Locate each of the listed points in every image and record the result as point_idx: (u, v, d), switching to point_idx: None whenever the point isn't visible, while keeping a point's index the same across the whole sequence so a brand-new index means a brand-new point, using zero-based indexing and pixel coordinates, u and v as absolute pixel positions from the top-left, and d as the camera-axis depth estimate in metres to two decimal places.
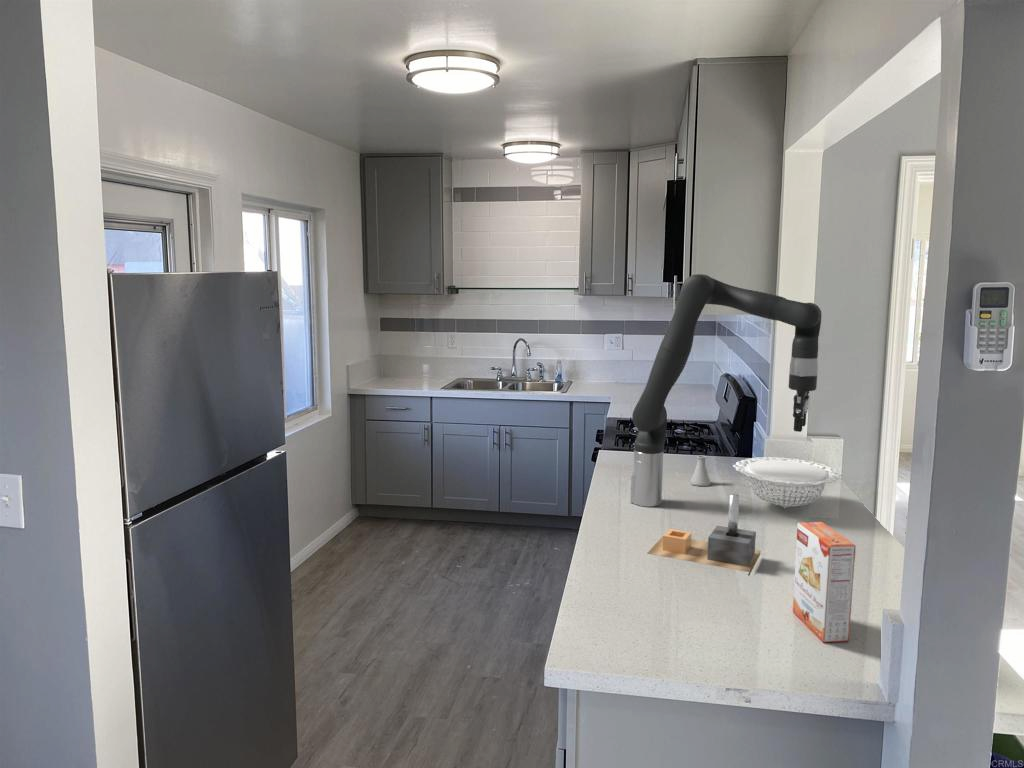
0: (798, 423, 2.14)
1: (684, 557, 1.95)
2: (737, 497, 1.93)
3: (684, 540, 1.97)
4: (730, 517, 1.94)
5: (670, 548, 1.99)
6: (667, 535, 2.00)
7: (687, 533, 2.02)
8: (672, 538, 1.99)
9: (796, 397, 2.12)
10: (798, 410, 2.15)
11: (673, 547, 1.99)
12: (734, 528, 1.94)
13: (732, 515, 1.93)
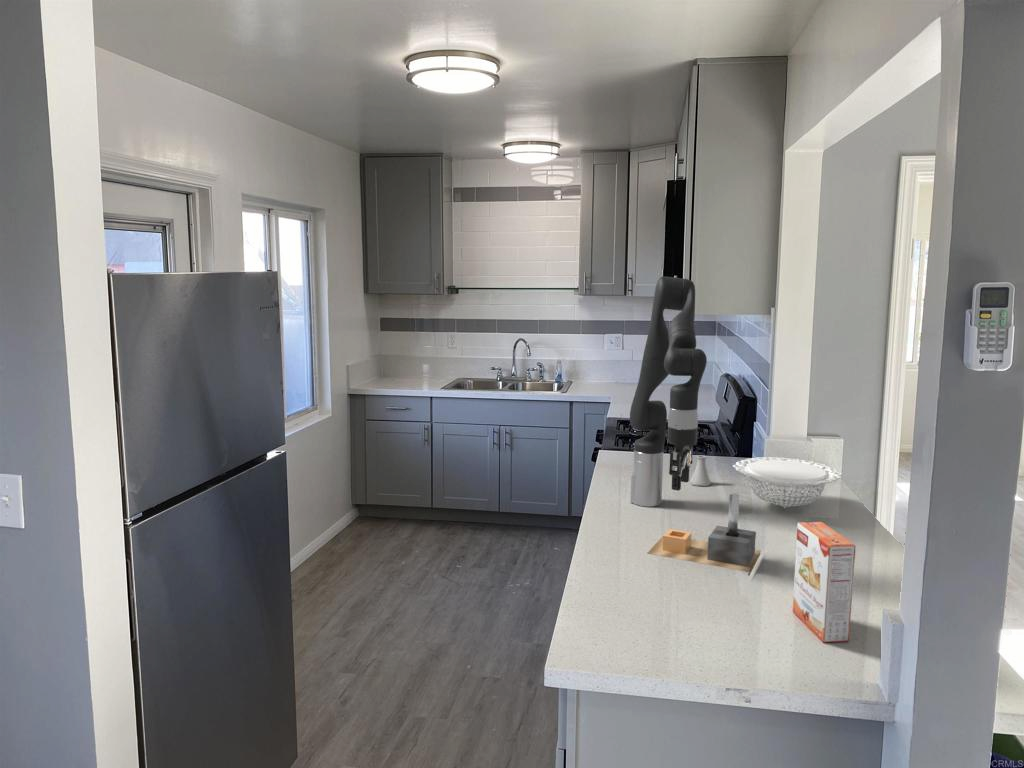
0: (676, 481, 1.94)
1: (684, 557, 1.95)
2: (737, 497, 1.93)
3: (684, 540, 1.97)
4: (730, 517, 1.94)
5: (670, 548, 1.99)
6: (667, 535, 2.00)
7: (687, 533, 2.02)
8: (672, 538, 1.99)
9: (672, 453, 1.92)
10: (676, 466, 1.95)
11: (673, 547, 1.99)
12: (734, 528, 1.94)
13: (732, 515, 1.93)
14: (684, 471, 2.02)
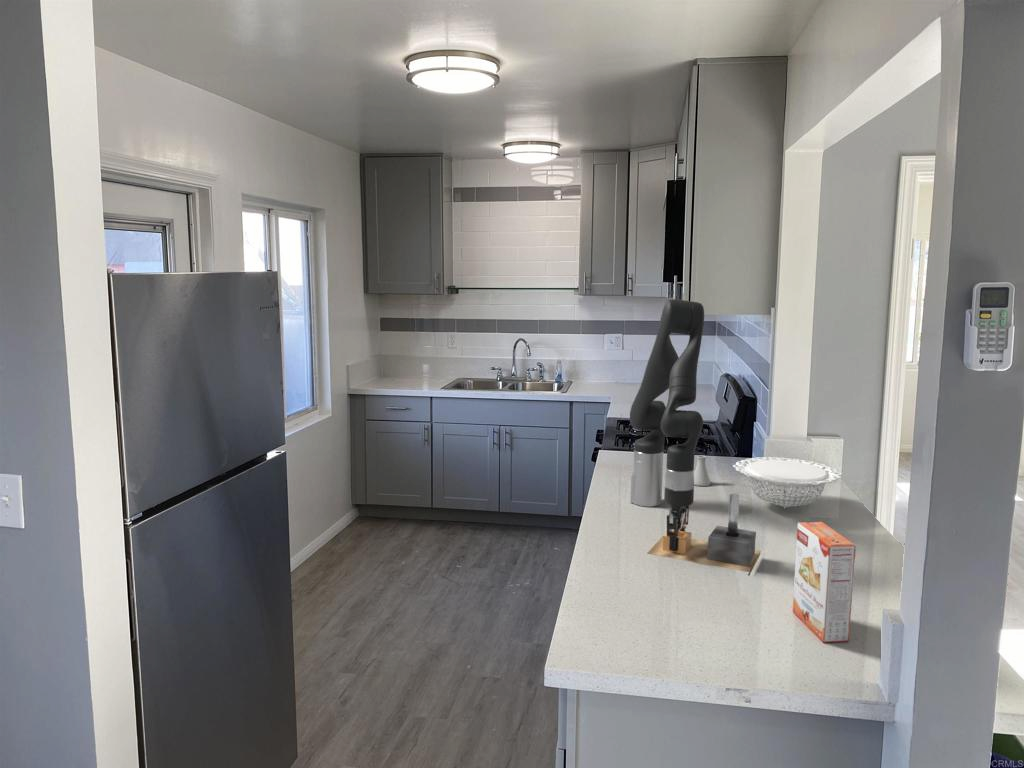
0: (673, 542, 1.97)
1: (684, 557, 1.95)
2: (737, 497, 1.93)
3: (684, 540, 1.97)
4: (730, 517, 1.94)
5: None
6: None
7: (687, 533, 2.02)
8: None
9: (668, 517, 1.94)
10: None
11: None
12: (734, 528, 1.94)
13: (732, 515, 1.93)
14: None
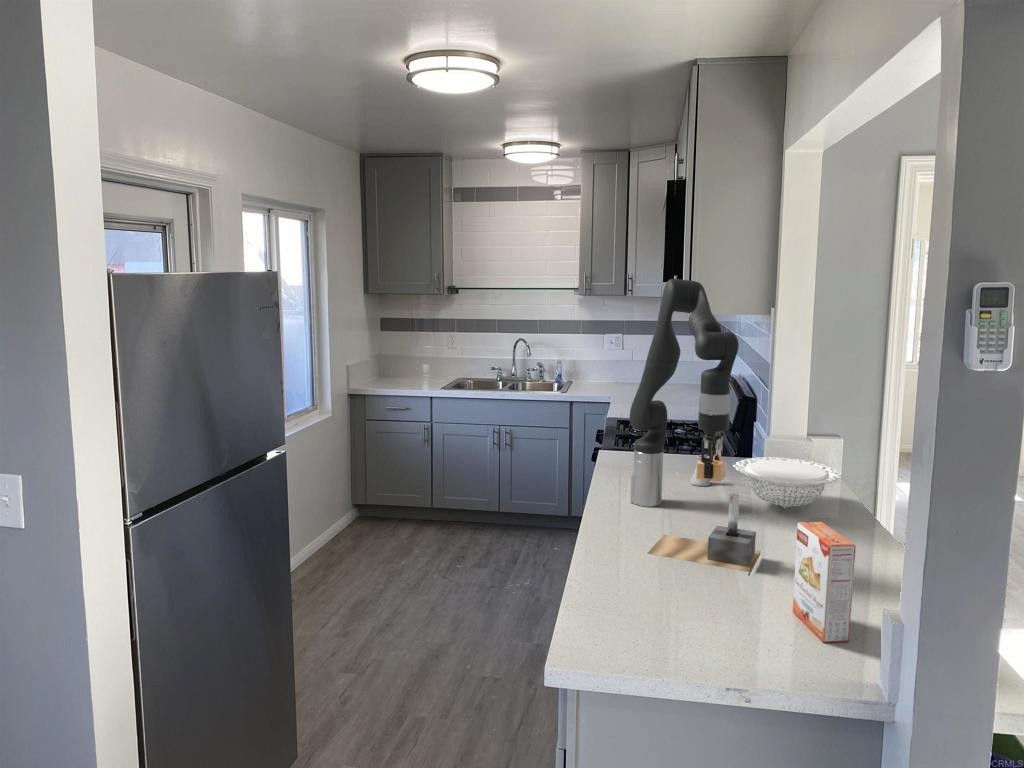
0: (708, 469, 1.91)
1: (684, 557, 1.95)
2: (737, 497, 1.93)
3: (719, 467, 1.90)
4: (730, 517, 1.94)
5: None
6: (701, 463, 1.93)
7: (722, 461, 1.95)
8: None
9: (703, 442, 1.88)
10: None
11: None
12: (734, 528, 1.94)
13: (732, 515, 1.93)
14: None
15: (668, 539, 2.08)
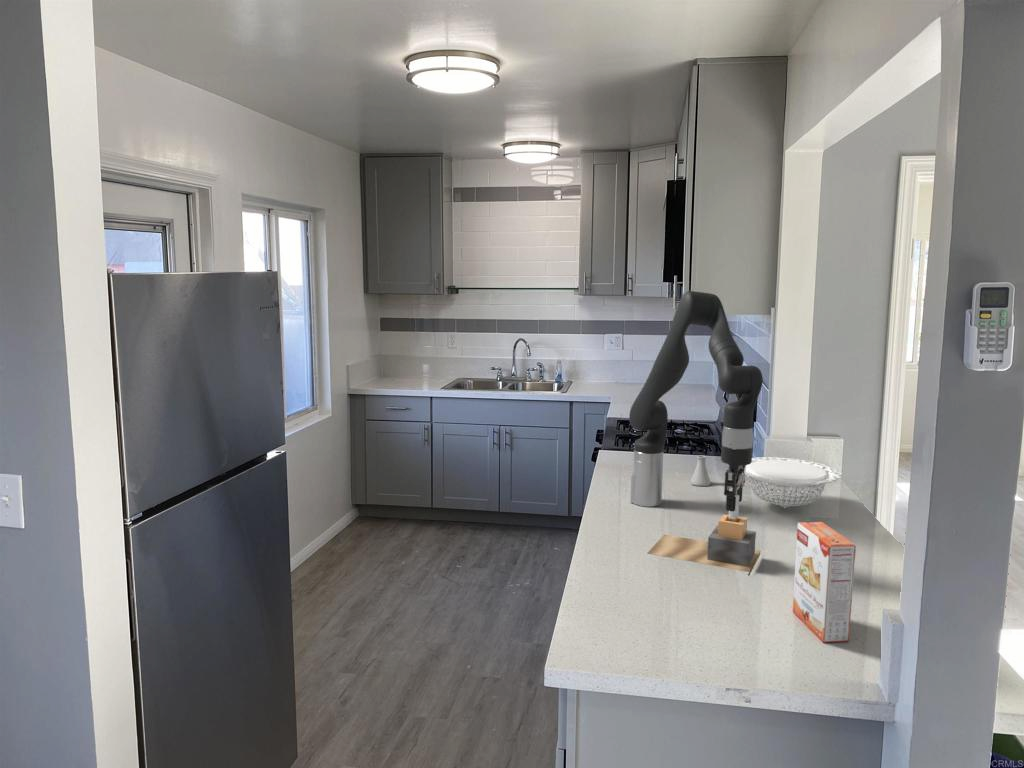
0: (730, 502, 1.89)
1: (684, 557, 1.95)
2: (737, 497, 1.93)
3: (741, 525, 1.91)
4: (730, 517, 1.94)
5: (726, 534, 1.93)
6: (723, 520, 1.94)
7: (743, 518, 1.95)
8: (728, 523, 1.92)
9: (727, 473, 1.87)
10: (731, 487, 1.90)
11: (729, 533, 1.93)
12: None
13: (732, 515, 1.93)
14: (737, 490, 1.97)
15: (668, 539, 2.08)
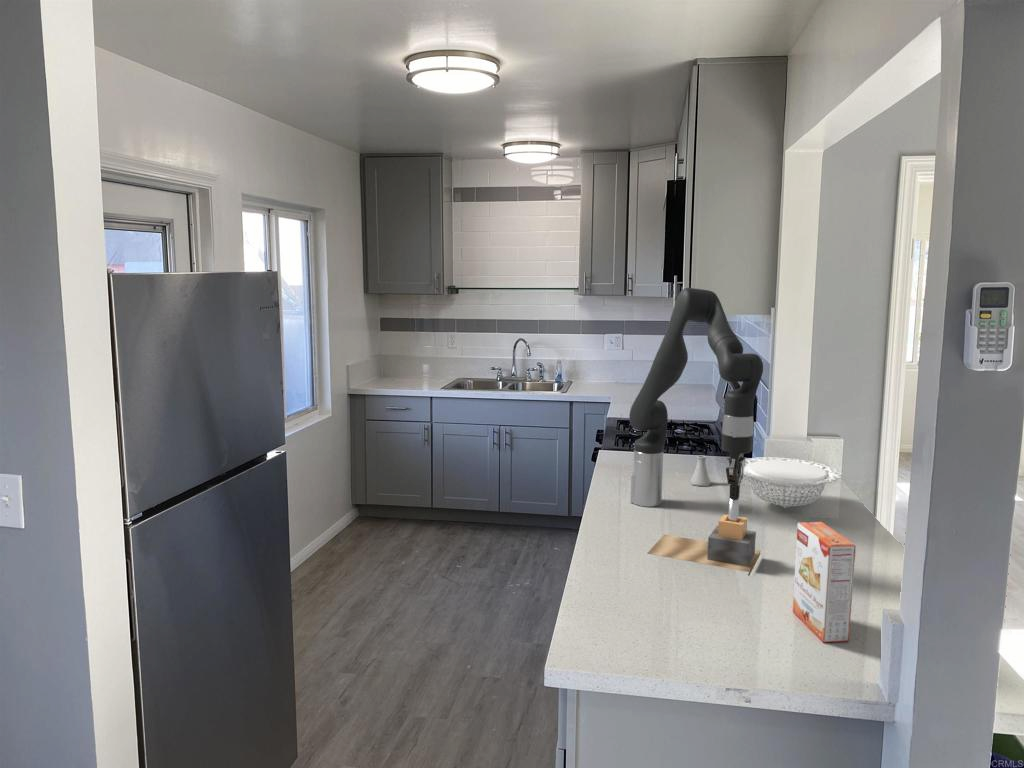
0: (734, 490, 1.92)
1: (684, 557, 1.95)
2: (737, 501, 1.93)
3: (741, 525, 1.91)
4: None
5: (726, 534, 1.93)
6: (723, 520, 1.94)
7: (743, 518, 1.95)
8: (728, 523, 1.92)
9: (728, 470, 1.88)
10: None
11: (729, 533, 1.93)
12: None
13: (732, 519, 1.94)
14: None
15: (668, 539, 2.08)
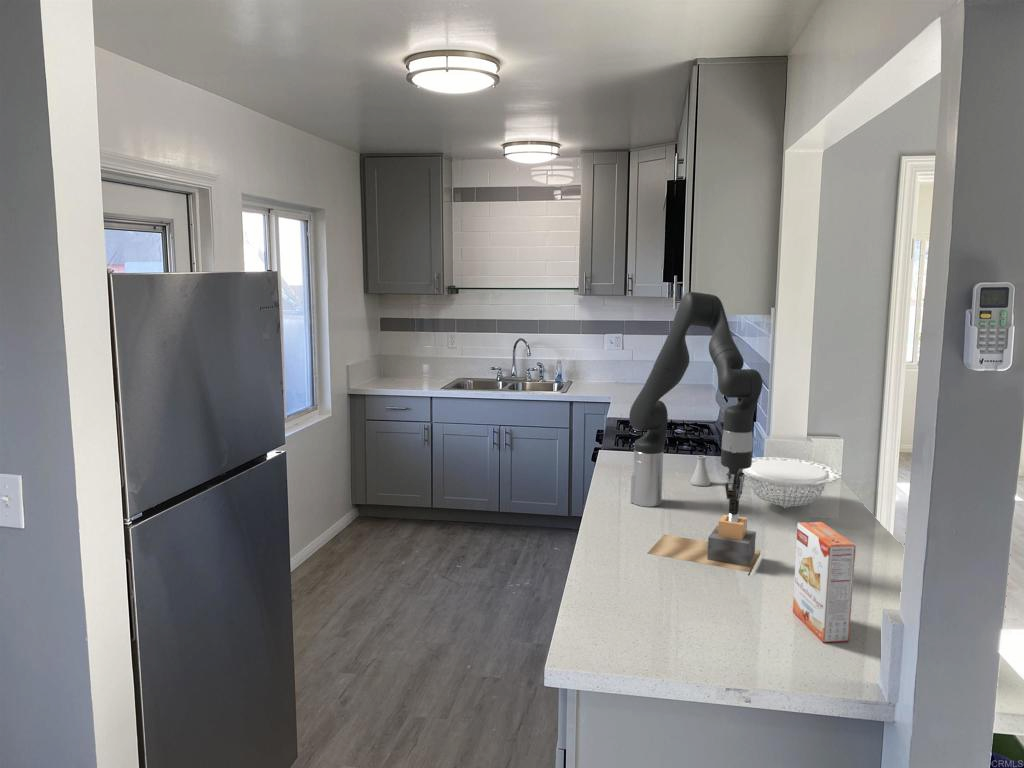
0: (733, 505, 1.93)
1: (684, 557, 1.95)
2: (736, 516, 1.93)
3: (741, 525, 1.91)
4: None
5: (726, 534, 1.93)
6: (723, 520, 1.94)
7: (743, 518, 1.95)
8: (728, 523, 1.92)
9: (727, 486, 1.88)
10: None
11: (729, 533, 1.93)
12: None
13: None
14: None
15: (668, 539, 2.08)
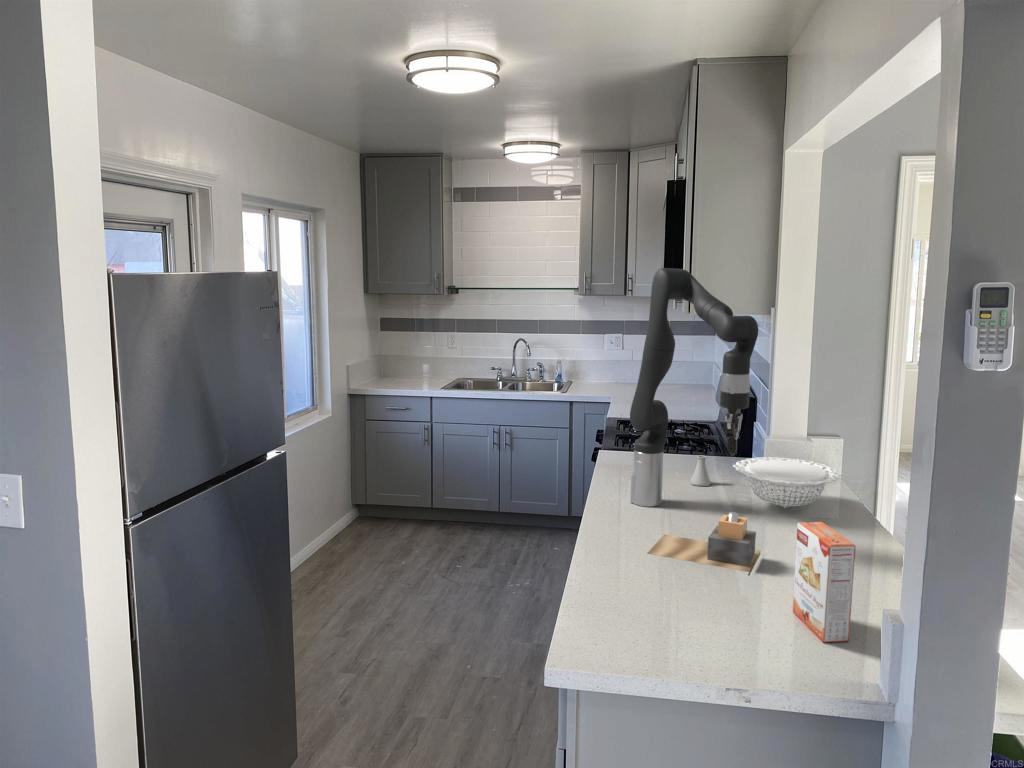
0: (731, 444, 2.06)
1: (684, 557, 1.95)
2: (736, 516, 1.93)
3: (741, 525, 1.91)
4: None
5: (726, 534, 1.93)
6: (723, 520, 1.94)
7: (743, 518, 1.95)
8: (728, 523, 1.92)
9: (726, 424, 2.01)
10: None
11: (729, 533, 1.93)
12: None
13: None
14: None
15: (668, 539, 2.08)
